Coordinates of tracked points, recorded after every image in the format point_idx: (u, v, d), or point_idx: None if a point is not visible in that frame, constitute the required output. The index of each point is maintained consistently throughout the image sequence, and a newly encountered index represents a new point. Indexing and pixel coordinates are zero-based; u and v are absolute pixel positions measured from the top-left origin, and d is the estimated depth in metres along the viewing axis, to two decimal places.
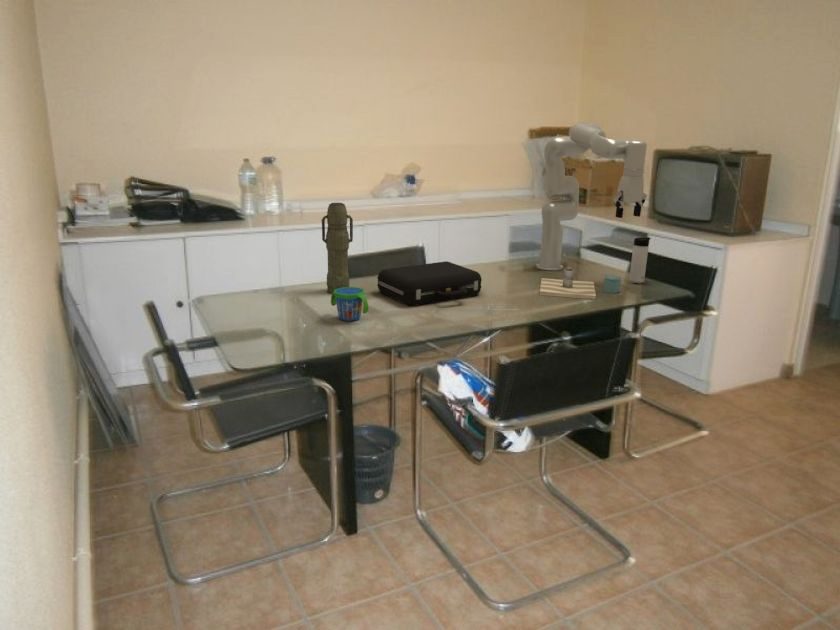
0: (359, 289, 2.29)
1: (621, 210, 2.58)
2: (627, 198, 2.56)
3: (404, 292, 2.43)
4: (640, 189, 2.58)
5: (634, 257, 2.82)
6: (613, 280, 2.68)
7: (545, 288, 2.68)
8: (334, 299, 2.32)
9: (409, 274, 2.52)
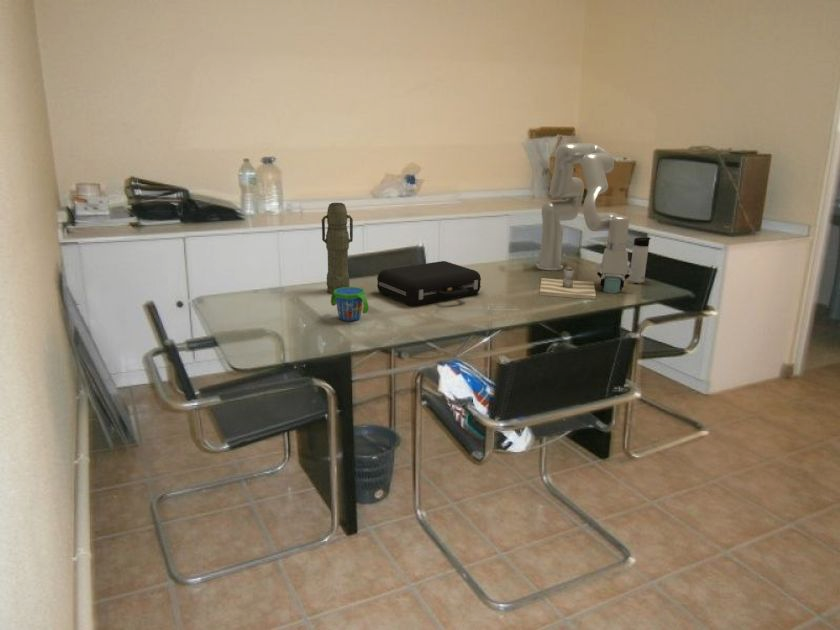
0: (359, 289, 2.29)
1: None
2: None
3: (407, 292, 2.43)
4: None
5: (634, 257, 2.82)
6: (613, 280, 2.68)
7: (545, 288, 2.68)
8: (334, 299, 2.32)
9: (410, 274, 2.51)
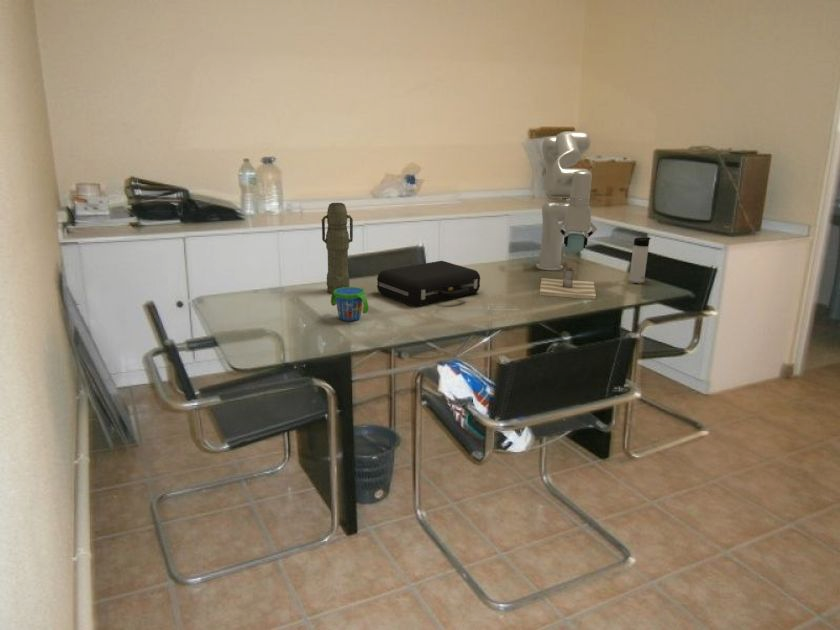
0: (359, 289, 2.29)
1: None
2: None
3: (409, 293, 2.43)
4: None
5: (634, 257, 2.82)
6: (576, 237, 2.62)
7: (545, 288, 2.68)
8: (334, 299, 2.32)
9: (411, 274, 2.51)
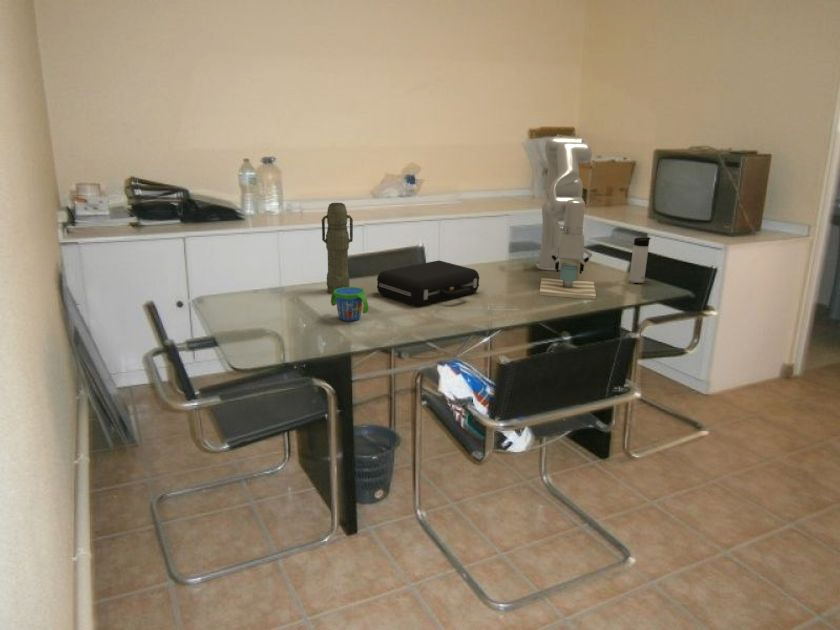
0: (359, 289, 2.29)
1: None
2: None
3: (412, 293, 2.42)
4: None
5: (634, 257, 2.82)
6: (569, 268, 2.66)
7: (545, 288, 2.68)
8: (334, 299, 2.32)
9: (412, 275, 2.51)
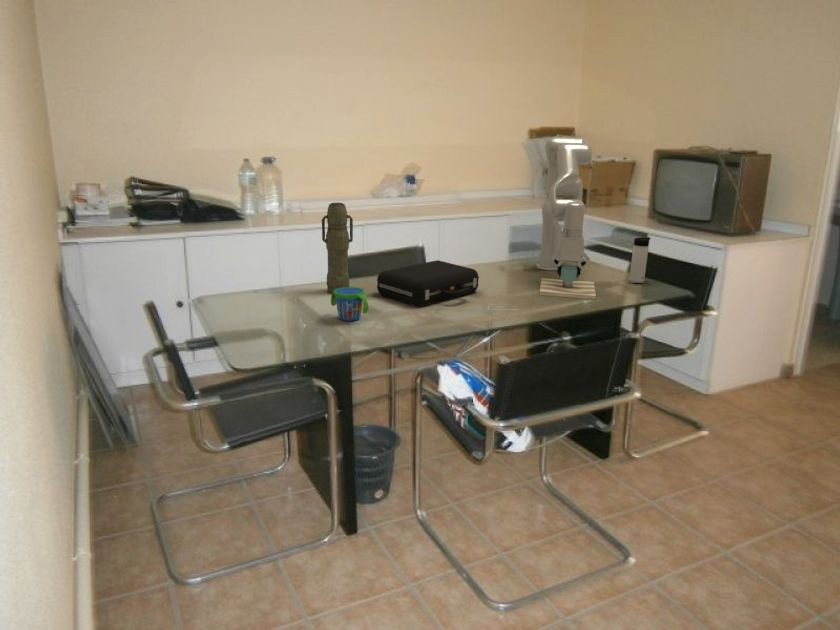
0: (359, 289, 2.29)
1: None
2: None
3: (413, 293, 2.42)
4: None
5: (634, 257, 2.82)
6: (569, 268, 2.66)
7: (545, 288, 2.68)
8: (334, 299, 2.32)
9: (412, 275, 2.51)
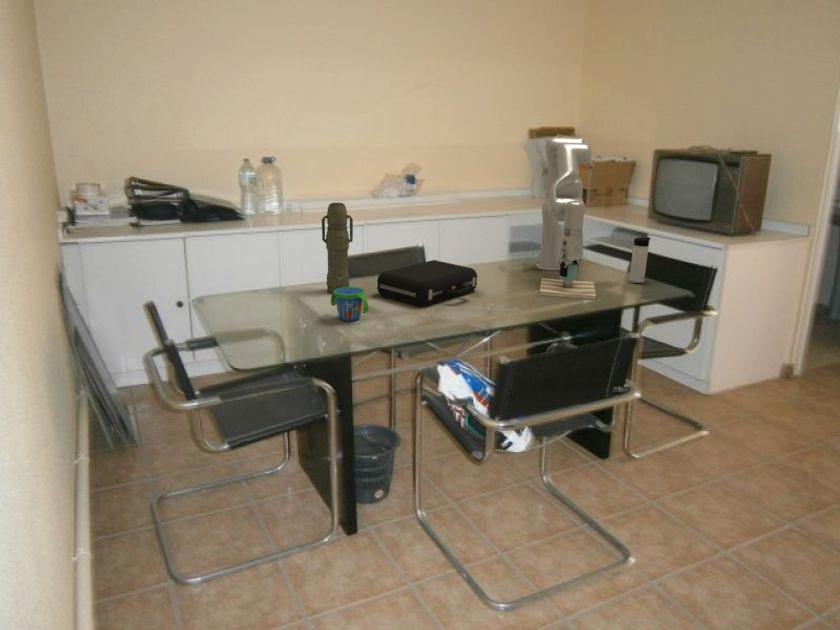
0: (359, 289, 2.29)
1: None
2: None
3: (416, 293, 2.42)
4: None
5: (634, 257, 2.82)
6: None
7: (545, 288, 2.68)
8: (334, 299, 2.32)
9: (414, 275, 2.50)
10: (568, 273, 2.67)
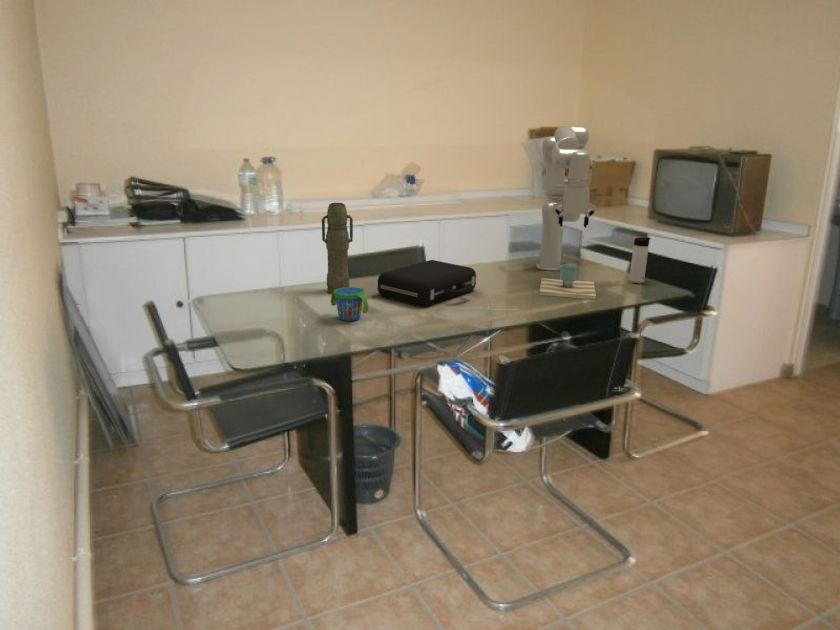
0: (359, 289, 2.29)
1: None
2: None
3: (418, 294, 2.42)
4: None
5: (634, 257, 2.82)
6: None
7: (545, 288, 2.68)
8: (334, 299, 2.32)
9: (414, 275, 2.50)
10: (568, 274, 2.67)
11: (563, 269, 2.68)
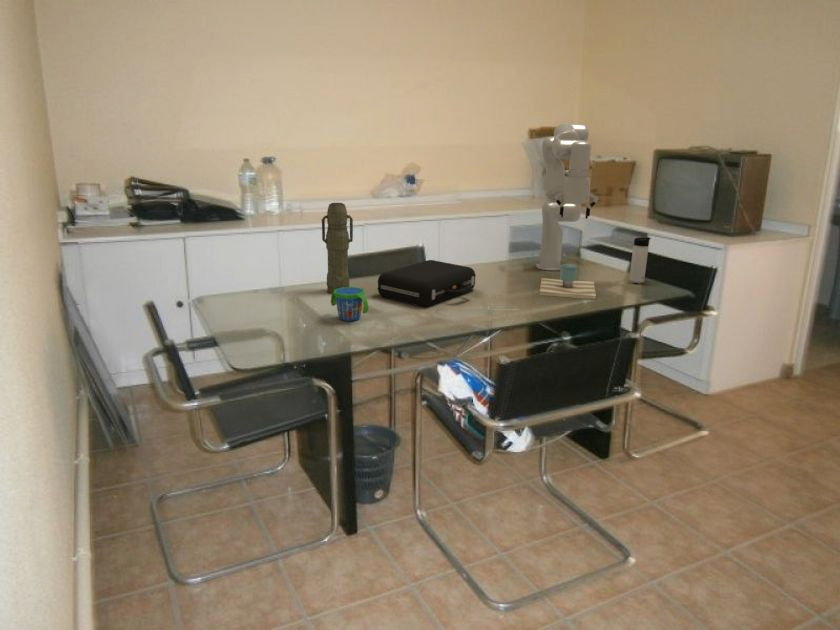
0: (359, 289, 2.29)
1: None
2: None
3: (420, 294, 2.42)
4: None
5: (634, 257, 2.82)
6: None
7: (545, 288, 2.68)
8: (334, 299, 2.32)
9: (415, 275, 2.50)
10: (568, 274, 2.67)
11: (563, 269, 2.68)
